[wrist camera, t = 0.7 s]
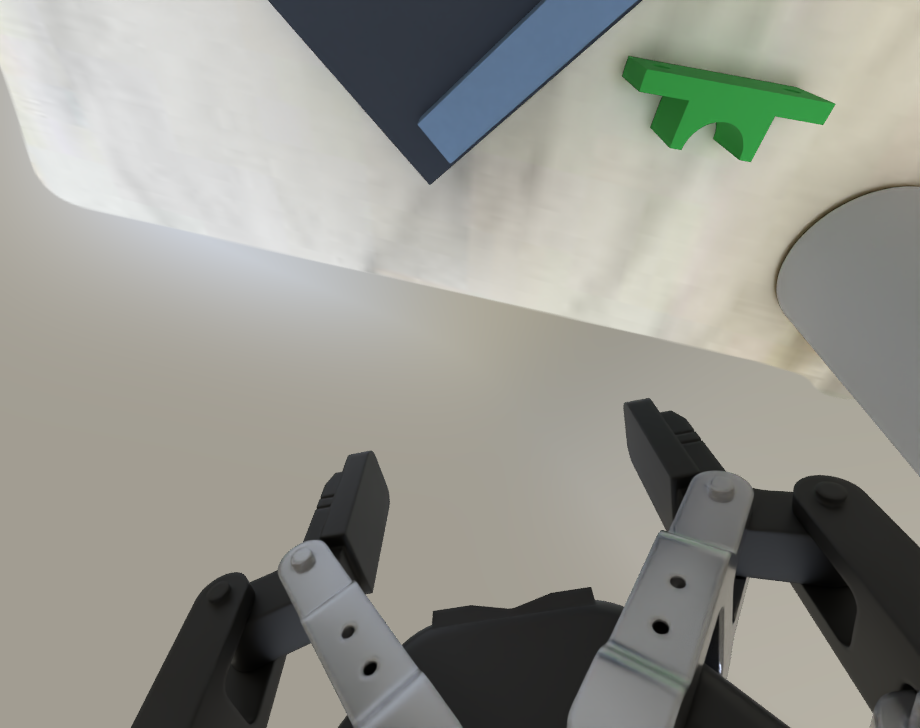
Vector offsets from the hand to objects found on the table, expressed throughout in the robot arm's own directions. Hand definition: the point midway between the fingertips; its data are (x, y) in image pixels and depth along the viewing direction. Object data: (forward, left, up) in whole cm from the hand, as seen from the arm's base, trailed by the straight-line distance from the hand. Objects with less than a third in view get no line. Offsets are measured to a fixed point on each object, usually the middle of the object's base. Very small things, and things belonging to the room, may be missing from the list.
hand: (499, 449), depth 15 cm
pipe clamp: (+5, +13, -26) cm, 30 cm away
